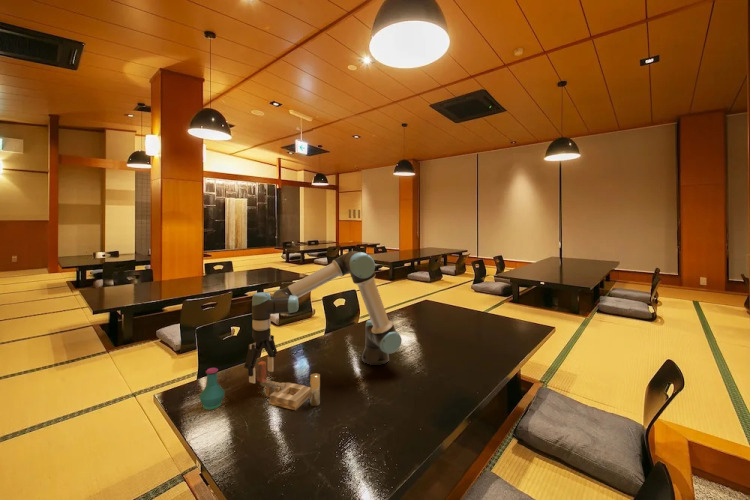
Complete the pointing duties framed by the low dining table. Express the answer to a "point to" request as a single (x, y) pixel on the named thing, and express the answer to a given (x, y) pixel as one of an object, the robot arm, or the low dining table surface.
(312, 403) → the tan rounded cylinder
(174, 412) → the low dining table surface
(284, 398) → the dock
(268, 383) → the pin
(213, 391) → the perfume bottle
